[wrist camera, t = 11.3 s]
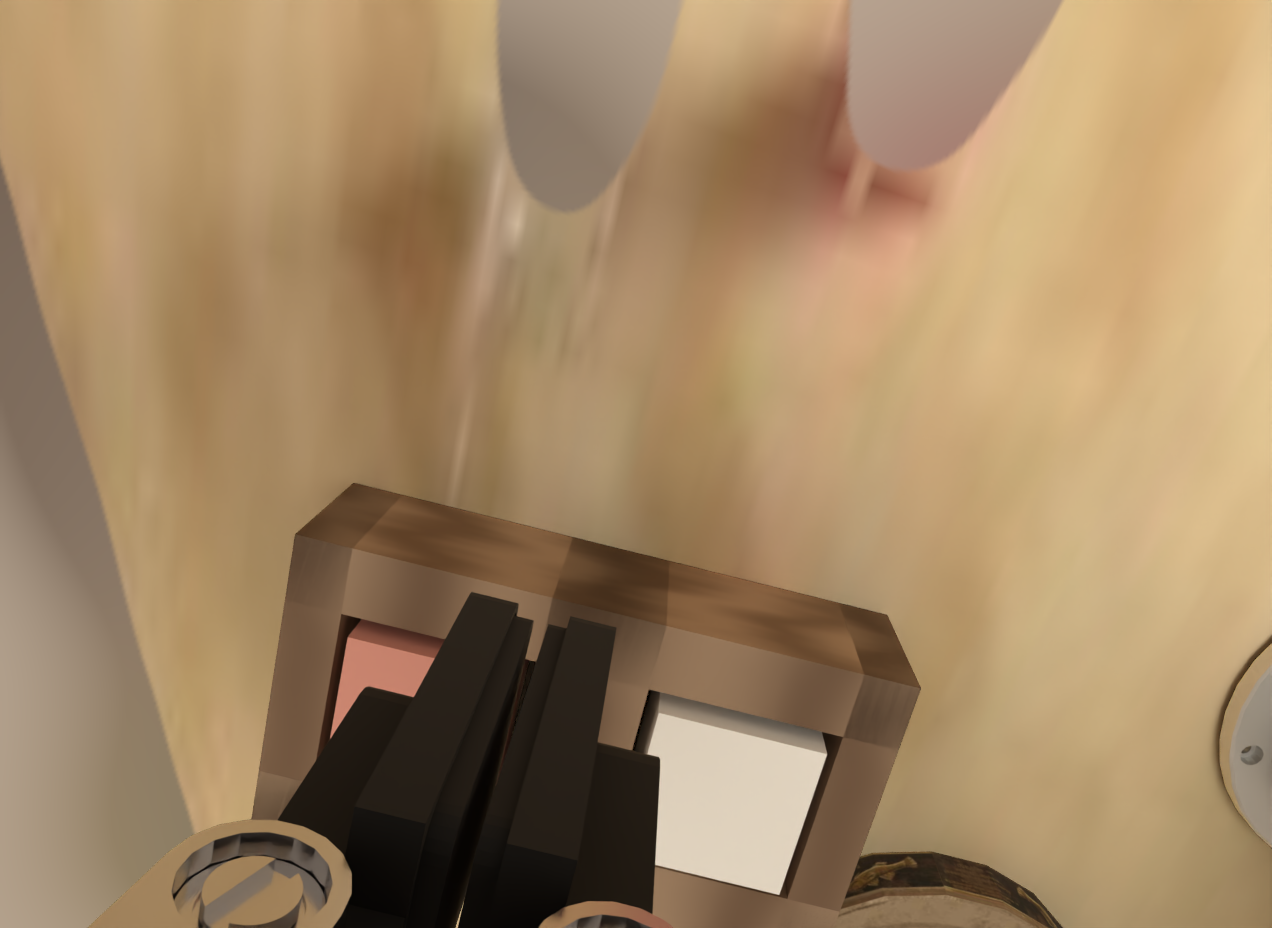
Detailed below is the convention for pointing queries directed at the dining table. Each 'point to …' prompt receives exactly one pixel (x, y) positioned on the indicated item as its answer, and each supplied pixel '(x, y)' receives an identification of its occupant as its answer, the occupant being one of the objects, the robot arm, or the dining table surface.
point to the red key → (391, 666)
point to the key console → (641, 661)
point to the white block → (729, 789)
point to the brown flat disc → (936, 895)
